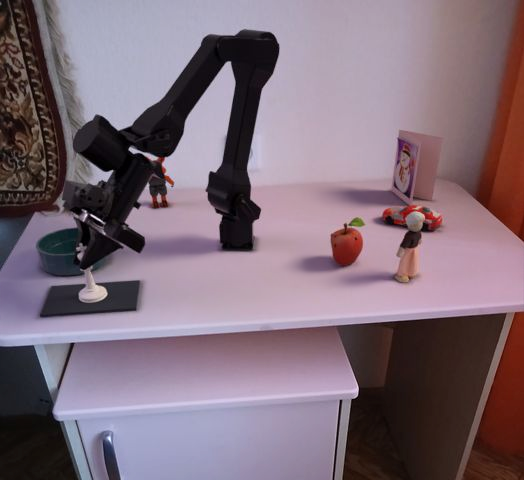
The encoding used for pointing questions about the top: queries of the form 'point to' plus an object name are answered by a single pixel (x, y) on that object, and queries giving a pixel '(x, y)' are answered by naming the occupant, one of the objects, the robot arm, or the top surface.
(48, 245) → the bowl
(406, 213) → the race car
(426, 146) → the greeting card
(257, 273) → the top surface
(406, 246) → the grandmother figurine
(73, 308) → the mat
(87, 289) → the chess piece
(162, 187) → the toy animal
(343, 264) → the apple
